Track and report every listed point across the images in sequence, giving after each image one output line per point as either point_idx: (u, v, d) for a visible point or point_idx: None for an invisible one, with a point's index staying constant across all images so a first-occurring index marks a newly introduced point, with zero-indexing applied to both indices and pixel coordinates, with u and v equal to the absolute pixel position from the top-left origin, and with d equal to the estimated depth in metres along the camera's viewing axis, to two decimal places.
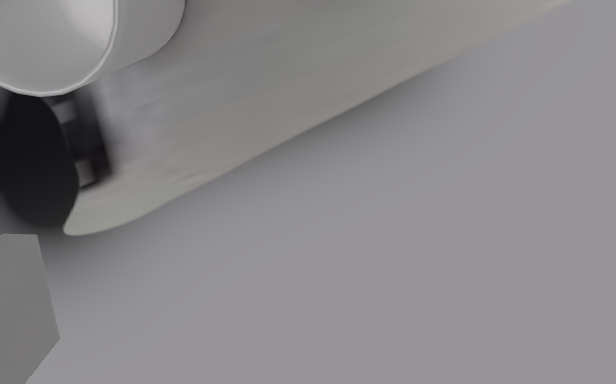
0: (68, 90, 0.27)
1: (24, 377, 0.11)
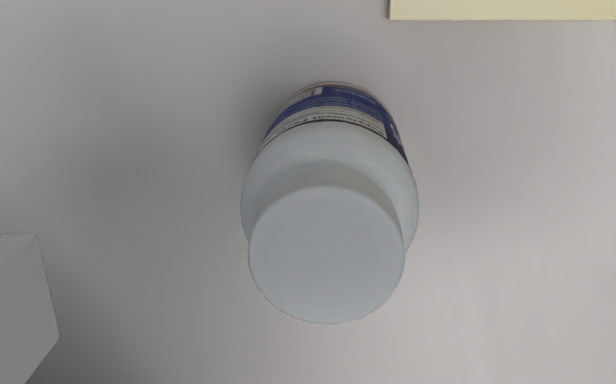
0: None
1: (24, 377, 0.11)
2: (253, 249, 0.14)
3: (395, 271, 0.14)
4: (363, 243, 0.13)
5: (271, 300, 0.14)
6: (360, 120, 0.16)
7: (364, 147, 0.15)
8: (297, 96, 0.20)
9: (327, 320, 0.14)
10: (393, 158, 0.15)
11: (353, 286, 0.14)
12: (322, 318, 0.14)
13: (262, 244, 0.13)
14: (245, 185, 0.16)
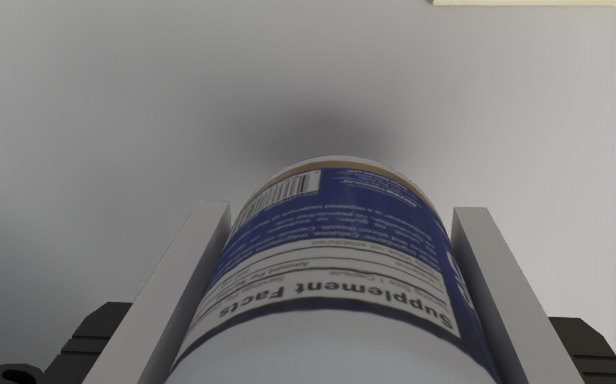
0: None
1: None
2: None
3: None
4: None
5: None
6: (400, 290, 0.07)
7: None
8: (276, 186, 0.12)
9: None
10: None
11: None
12: None
13: None
14: None
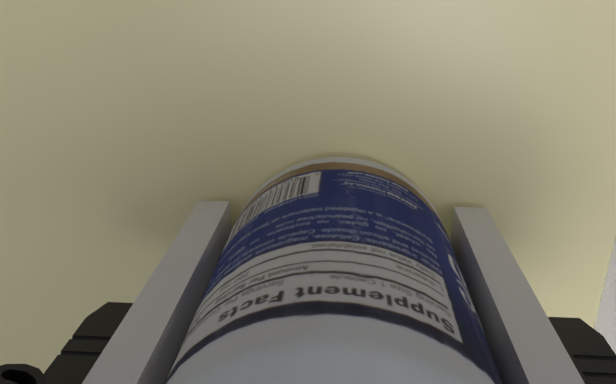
0: None
1: None
2: None
3: None
4: None
5: None
6: (401, 294, 0.07)
7: None
8: (276, 187, 0.11)
9: None
10: None
11: None
12: None
13: None
14: None
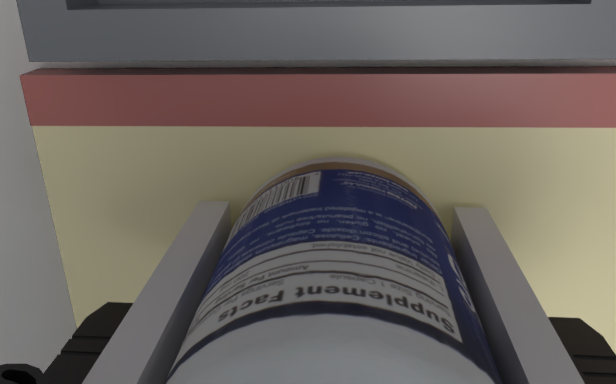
0: None
1: None
2: None
3: None
4: None
5: None
6: (401, 293, 0.07)
7: None
8: (276, 187, 0.11)
9: None
10: None
11: None
12: None
13: None
14: None
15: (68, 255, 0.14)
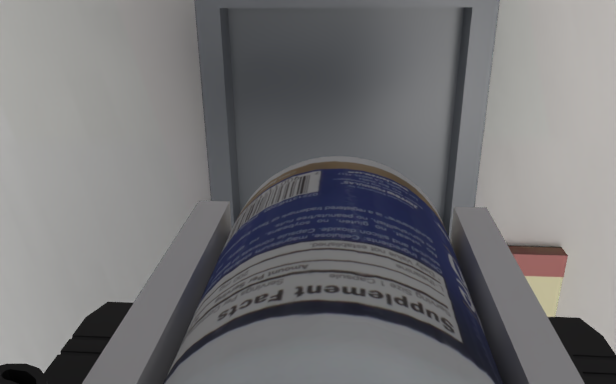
0: None
1: None
2: None
3: None
4: None
5: None
6: (401, 293, 0.07)
7: None
8: (276, 187, 0.11)
9: None
10: None
11: None
12: None
13: None
14: None
15: None
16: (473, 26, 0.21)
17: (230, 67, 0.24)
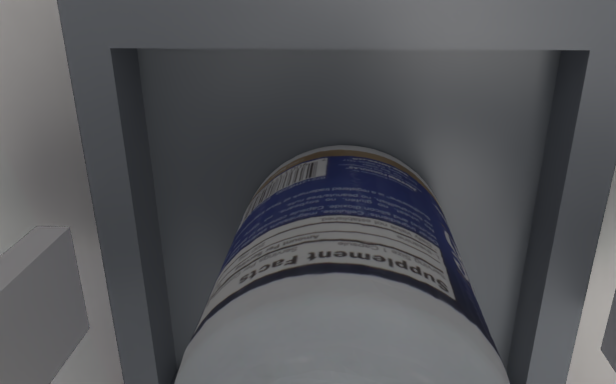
0: None
1: (58, 365, 0.12)
2: None
3: None
4: None
5: None
6: (401, 258, 0.08)
7: (417, 346, 0.07)
8: (286, 172, 0.12)
9: None
10: (475, 361, 0.07)
11: None
12: None
13: None
14: None
15: None
16: (588, 85, 0.11)
17: (146, 144, 0.14)
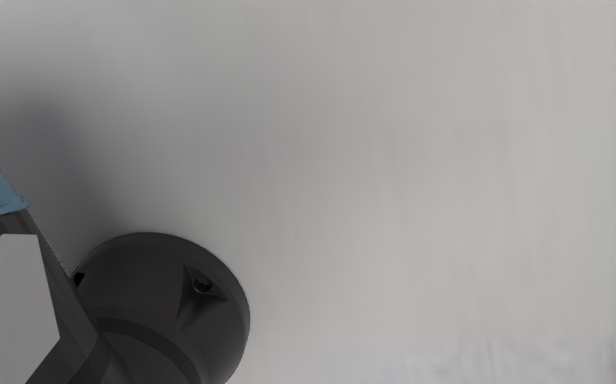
0: None
1: (24, 377, 0.11)
2: None
3: None
4: None
5: None
6: None
7: None
8: None
9: None
10: None
11: None
12: None
13: None
14: None
15: None
16: None
17: None
